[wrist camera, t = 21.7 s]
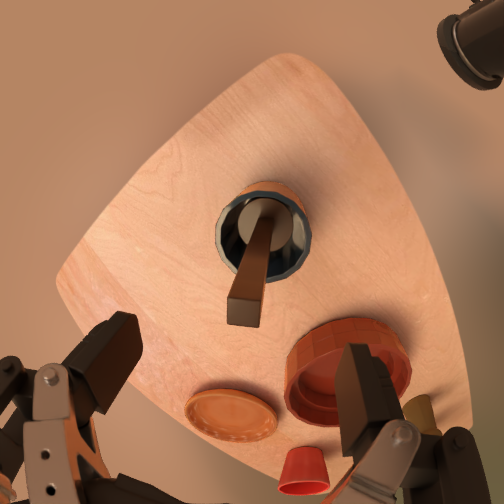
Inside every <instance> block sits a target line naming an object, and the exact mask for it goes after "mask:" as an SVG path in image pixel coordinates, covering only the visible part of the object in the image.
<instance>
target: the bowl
mask: <svg viewBox="0 0 504 504" xmlns="http://www.w3.org/2000/svg"><path fill="white" fill-rule="evenodd" d="M348 342H351V343H367V344H368V346H369V349H370V352H371V355H372V356H378V357H379V358H380V359H381V360H382V361H383V362H384V363H385V365H386V366H387V368H388V371H389V374H390V378H391V379H392V382H393V387H394V388H395V391H396V394H397V397H398V400H399V399H400V398H401V397H402V395H403V394H404V392H405V391H406V389H407V387H408V386H409V384H410V379H411V374H412V368H411V365H410V361H409V358H408V356H407V354H406V352H405V350H404V348H403V346H402V344H401V342H400V340H399V338H398V336H397V334H396V333H395V332H394V331H393V330H392V329H391V328H390V327H389V326H388V325H387V324H384V323H382V322H379V321H376V320H374V319H370V318H346V319H342V320H337V321H332V322H329V323H327V324H325V325H323V326H321V327H319V328H316V329H314V330H312V331H311V332H309V333H308V334H307V335H306V336H305V337H303V338H302V339H301V340H300V341H298V342H297V343H296V345H295V346H294V348H293V349H292V351H291V352H290V354H289V355H288V357H287V362H286V367H285V383H284V399H285V403H286V406H287V409H288V410H289V411H290V412H291V413H292V414H293V415H294V416H295V417H296V418H297V419H299V420H301V421H303V422H305V423H307V424H310V425H315V426H320V427H340V425H339V417H338V409H337V401H336V394H335V387H334V380H335V373H336V370H337V367H338V364H339V362H340V359H341V356H342V353H343V350H344V347H345V345H346V343H348Z"/></svg>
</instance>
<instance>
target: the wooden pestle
mask: <svg viewBox="0 0 504 504" xmlns="http://www.w3.org/2000/svg"><path fill="white" fill-rule="evenodd" d="M293 228H294V223H293V216H292V209H291V206H289V205H287V204H285V203H283V202H282V201H280V200H278V199H276V198H269V197H258V196H257V197H254V198H251V199H250V200H249V201H248V202H247V204H246V205H245V206H244V208H243V209H242V211H241V212H240V215H239V218H238V231H239V234H240V237H241V238H242V240H243V241H244V242H245V243H246V244H247V248H246V250H245V253H244V255H243V258H242V261H241V263H240V266H239V268H238V271H237V274H236V276H235V279H234V281H233V284H232V287H231V289H230V292H229V294H228V297H227V324H229V325H237V326H245V327H254V328H258V327H259V325H260V318H261V312H262V305H263V298H264V291H265V284H266V278H267V271H268V263H269V256H270V252H271V251H275V250H278V249H280V248H281V247H283V246H284V245H285V244H286V243H287V242H288V241H289V239H290V238H291V236H292V233H293Z"/></svg>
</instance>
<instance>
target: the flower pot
mask: <svg viewBox="0 0 504 504" xmlns="http://www.w3.org/2000/svg"><path fill="white" fill-rule="evenodd" d="M329 487H330V481H329V477H328V472H327V468H326V464H325V461H324V457H323V454H322V451H321V450H320V449H318V448H315V447H299V448H295V449H293V450H291V451H289V452H288V454H287V457H286V460H285V464H284V467H283V471H282V474H281V477H280V481H279V485H278V491H280V492H282V493H284V494H288V495H311V494H317V493H321V492H323V491H326V490H327V489H329Z"/></svg>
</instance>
